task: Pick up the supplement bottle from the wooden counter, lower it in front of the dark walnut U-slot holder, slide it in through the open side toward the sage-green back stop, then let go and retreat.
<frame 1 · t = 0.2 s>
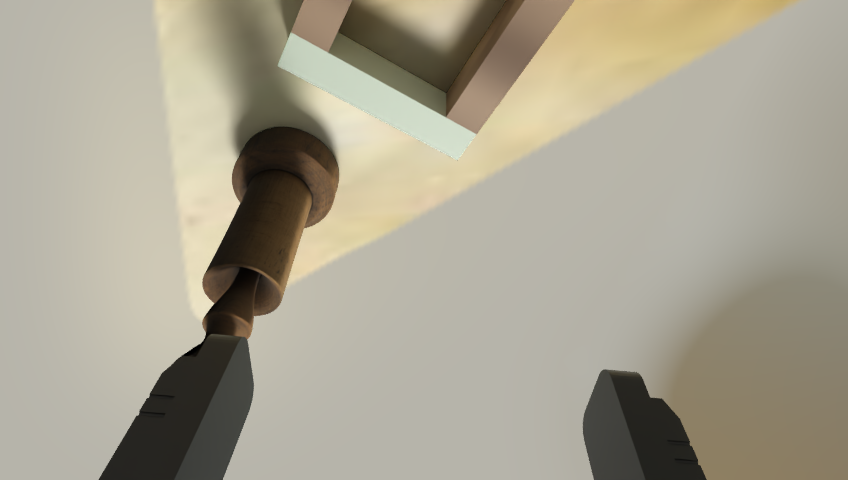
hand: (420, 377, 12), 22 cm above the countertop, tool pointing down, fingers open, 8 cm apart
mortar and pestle: (291, 168, 35), on the countertop
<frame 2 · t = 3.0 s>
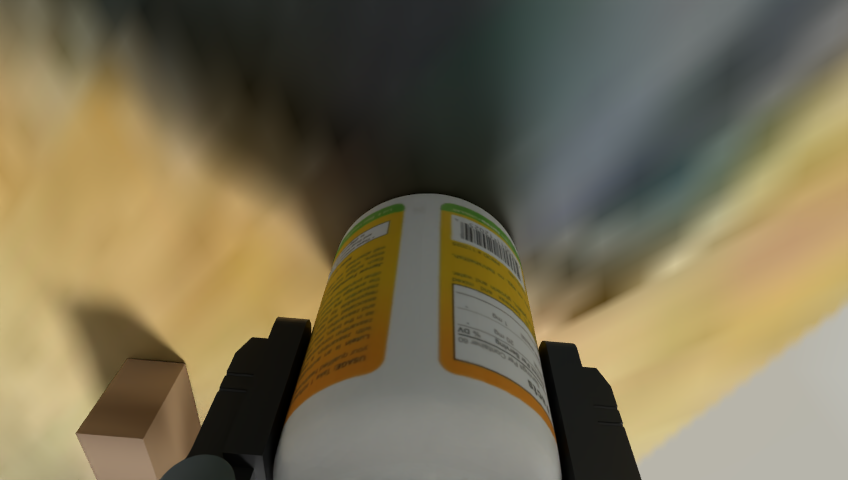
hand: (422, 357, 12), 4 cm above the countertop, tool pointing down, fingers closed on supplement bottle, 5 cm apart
slot holder: (294, 458, 21), on the countertop
supplement bottle: (428, 264, 16), on the countertop, touching gripper
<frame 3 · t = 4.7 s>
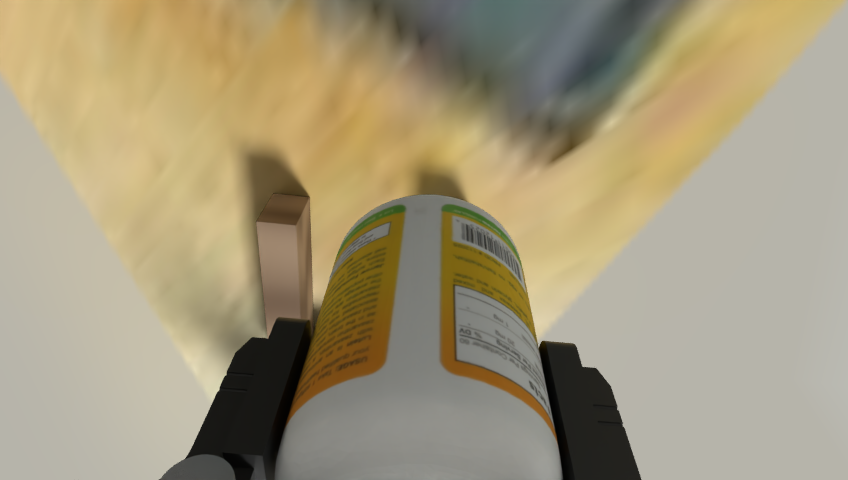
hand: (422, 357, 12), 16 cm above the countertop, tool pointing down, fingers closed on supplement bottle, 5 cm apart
slot holder: (369, 275, 32), on the countertop
supplement bottle: (429, 265, 16), point 12 cm above the countertop, touching gripper
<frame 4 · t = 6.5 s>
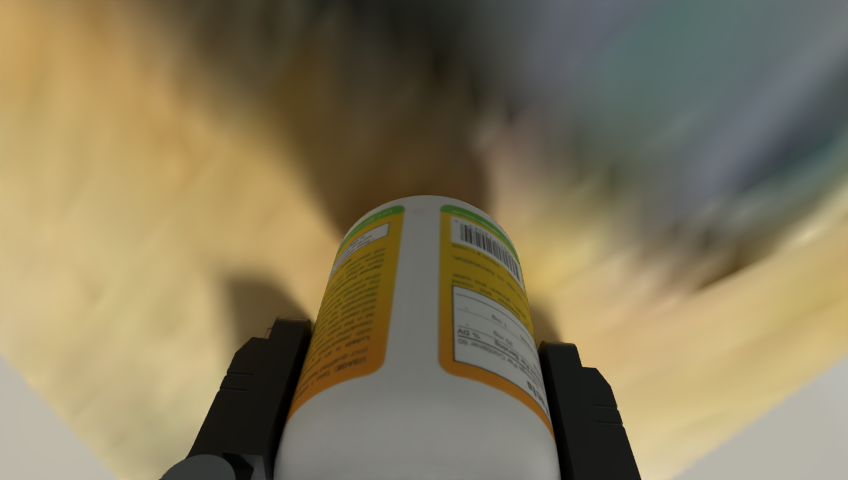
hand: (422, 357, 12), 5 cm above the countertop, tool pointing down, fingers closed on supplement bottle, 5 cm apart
supplement bottle: (427, 265, 16), point 1 cm above the countertop, touching gripper
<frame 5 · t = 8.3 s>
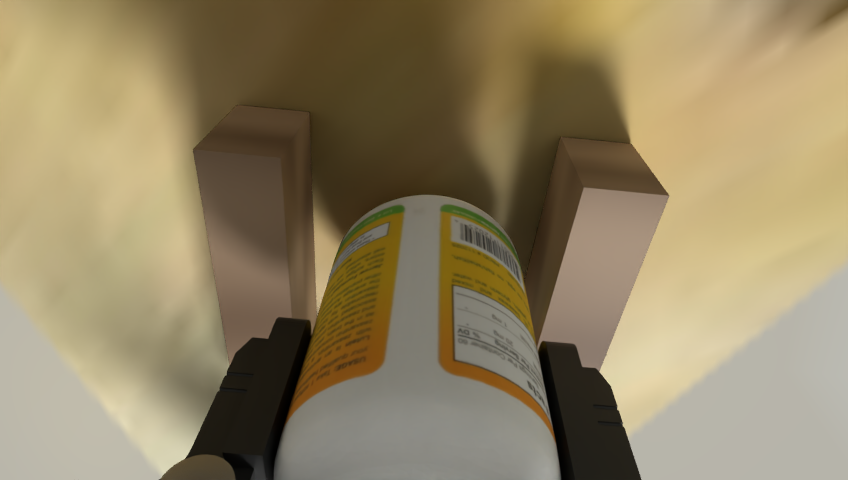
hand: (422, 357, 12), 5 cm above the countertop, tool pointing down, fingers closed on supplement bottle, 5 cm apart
slot holder: (420, 268, 17), on the countertop
supplement bottle: (428, 265, 16), point 1 cm above the countertop, touching gripper
when the fingers open (4 cm above the countertop, at t = 10.0 s): supplement bottle stays where it is, resting in slot holder.
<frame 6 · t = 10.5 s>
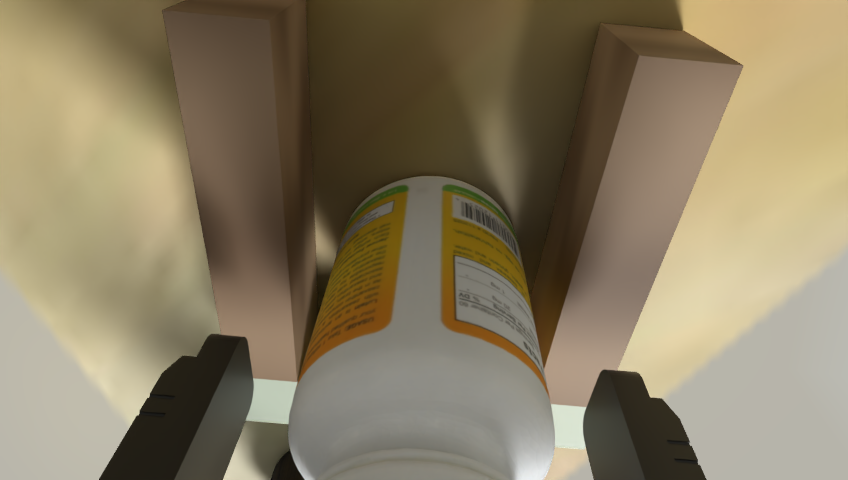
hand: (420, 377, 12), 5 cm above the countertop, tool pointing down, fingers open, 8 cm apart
slot holder: (434, 194, 15), on the countertop
supplement bottle: (430, 245, 16), resting in slot holder
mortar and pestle: (348, 478, 24), on the countertop
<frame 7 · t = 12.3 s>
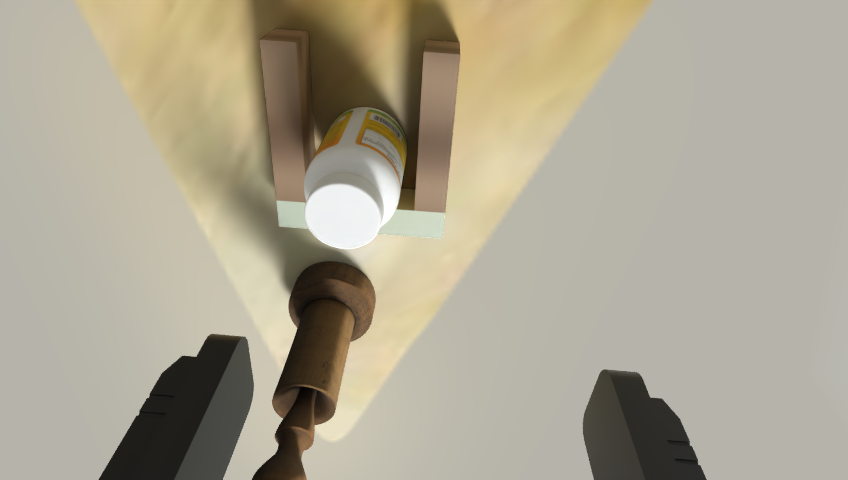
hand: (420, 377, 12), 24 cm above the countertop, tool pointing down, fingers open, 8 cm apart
slot holder: (367, 116, 34), on the countertop
supplement bottle: (368, 143, 35), resting in slot holder
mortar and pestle: (336, 292, 42), on the countertop
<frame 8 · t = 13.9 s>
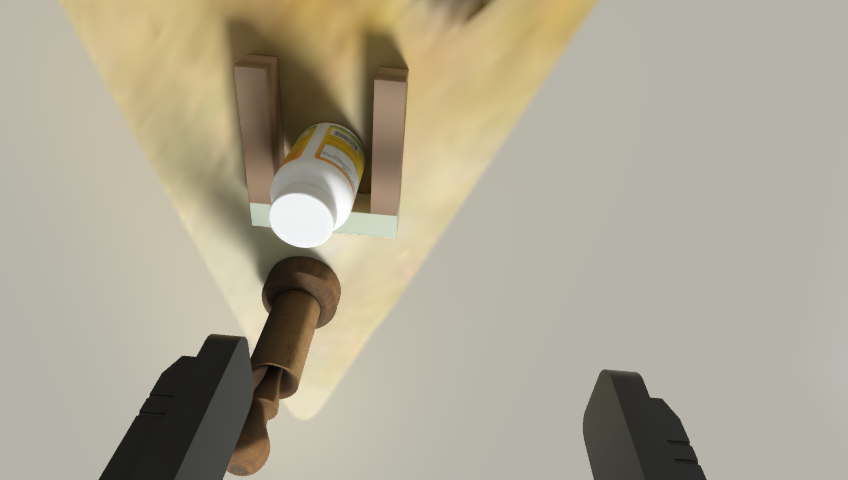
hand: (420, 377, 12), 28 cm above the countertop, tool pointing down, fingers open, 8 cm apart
slot holder: (329, 130, 39), on the countertop
supplement bottle: (331, 153, 40), resting in slot holder
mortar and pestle: (305, 284, 47), on the countertop
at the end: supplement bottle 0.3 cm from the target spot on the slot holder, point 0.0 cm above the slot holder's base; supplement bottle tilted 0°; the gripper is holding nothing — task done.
